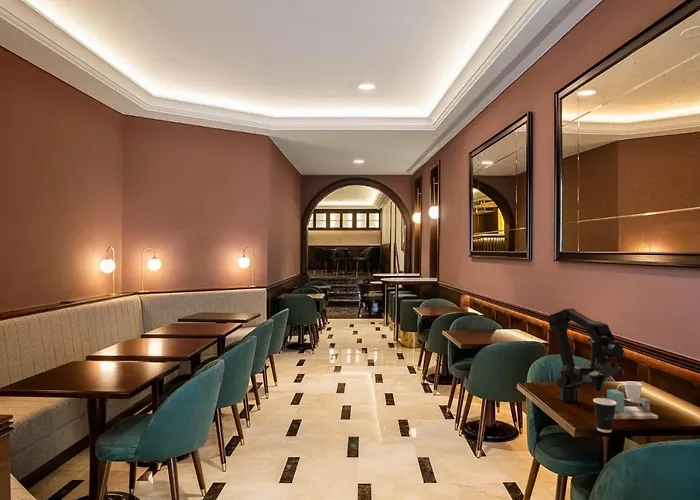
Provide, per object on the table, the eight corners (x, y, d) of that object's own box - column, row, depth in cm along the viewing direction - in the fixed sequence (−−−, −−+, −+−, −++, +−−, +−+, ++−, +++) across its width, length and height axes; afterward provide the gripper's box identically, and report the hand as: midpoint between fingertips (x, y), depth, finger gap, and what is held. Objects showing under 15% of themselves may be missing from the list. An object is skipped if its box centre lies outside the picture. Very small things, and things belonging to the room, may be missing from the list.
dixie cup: (611, 435, 183) (611, 405, 183) (589, 429, 189) (589, 400, 189) (619, 430, 188) (620, 401, 188) (597, 424, 194) (598, 396, 194)
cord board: (614, 419, 201) (614, 404, 201) (595, 407, 215) (595, 393, 215) (657, 418, 202) (658, 403, 202) (636, 407, 216) (636, 393, 216)
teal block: (614, 411, 205) (614, 393, 205) (606, 407, 211) (607, 389, 211) (624, 411, 206) (624, 393, 206) (616, 407, 211) (616, 389, 211)
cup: (642, 404, 221) (642, 386, 221) (616, 400, 225) (616, 383, 225) (641, 400, 227) (641, 382, 227) (616, 396, 232) (616, 379, 232)
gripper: (586, 358, 199) (585, 397, 200) (632, 358, 200) (631, 397, 201) (572, 352, 210) (572, 389, 211) (616, 352, 211) (615, 389, 212)
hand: (597, 391), depth 208 cm, fingers closed
